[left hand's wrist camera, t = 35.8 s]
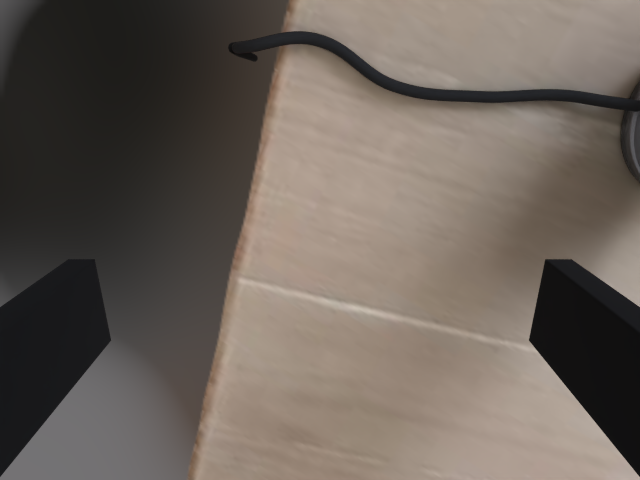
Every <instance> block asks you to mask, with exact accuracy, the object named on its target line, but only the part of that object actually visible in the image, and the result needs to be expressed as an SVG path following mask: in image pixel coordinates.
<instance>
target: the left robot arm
mask: <svg viewBox="0 0 640 480" xmlns="http://www.w3.org/2000/svg"><path fill="white" fill-rule="evenodd" d="M289 44H308V45H314V46H318V47H321V48H324V49H326V50H329V51H331V52H332V53H334V54H336V55H338V56H339V57H341V58H342V59H343V60H345V61H346V62H347V63H349V64H350V65H351V66H352V67H354V68H355V69H356V70H357V71H359V72H360V73H361V74H362V75H364V76H365V77H366V78H368V79H369V80H371V81H372V82H374V83H375V84H377V85H379V86H381V87H383V88H385V89H387V90H390V91H392V92H396V93H399V94H402V95H406V96H410V97H415V98H420V99H427V100H437V101H458V102H482V103H501V102H520V101H542V100H549V101H568V102H576V103H582V104H588V105H593V106H600V107H606V108H613V109H620V110H625V113H624V117H623V122H622V128H621V146H622V152H623V156H624V159H625V162H626V164H627V166H628V168H629V170H630V171H631V173H632V174H633V176H634V177H635V178H636V179H637V180H638V181H639V182H640V81H639V83H638V84H637V86H636V88H635V90H634V91H633V93H632V95H631V97H630V99H626V98H619V97H612V96H605V95H599V94H593V93H587V92H581V91H573V90H558V89H540V90H520V91H500V92H487V91H463V90H442V89H431V88H424V87H418V86H414V85H409V84H406V83H402V82H399V81H396V80H394V79H391V78H389V77H387V76H385V75H383V74H381V73H380V72H378V71H377V70H375V69H374V68H373V67H371V66H370V65H369V64H367V63H366V62H365V61H364V60H363V59H361V58H360V57H359V56H358V55H356V54H355V53H354V52H353V51H351V50H350V49H349V48H347V47H346V46H344V45H343V44H341V43H339V42H337V41H336V40H334V39H332V38H329V37H327V36H324V35H320V34H317V33H312V32H303V31H294V32H285V33H279V34H274V35H269V36H266V37H261V38H257V39H253V40H248V41H241V42H232V43H230V44H229V46H228V49H229V52H231V53H232V54H234V55H236V56H238V57H241V58H244V59H247V60H250V61H253V62H256V61H257V60H258V57H257V55H255V54H253V53H251V52H256V51H261V50H265V49H269V48H273V47H278V46H283V45H289ZM110 341H111V338H110V333H109V328H108V323H107V318H106V313H105V308H104V303H103V298H102V293H101V288H100V283H99V279H98V274H97V269H96V264H95V260H94V259H68V260H67V261H66V262H64V263H63V264H61V265H60V266H58V267H57V268H55V269H54V270H53V271H51V272H50V273H48V274H47V275H45V276H44V277H43V278H41V279H40V280H38V281H37V282H36V283H34V284H33V285H31V286H30V287H28V288H27V289H26V290H24V291H23V292H21V293H20V294H18V295H17V296H16V297H14V298H13V299H11V300H10V301H8V302H7V303H6V304H4V305H3V306H1V307H0V476H1V475H2V474H3V473H4V471H5V470H6V469H7V468H8V467H9V465H10V464H11V463H12V462H13V460H14V459H15V458H16V457H17V456H18V454H19V453H20V452H21V451H22V449H23V448H24V447H25V446H26V444H27V443H28V442H29V441H30V440H31V438H32V437H33V436H34V435H35V433H36V432H37V431H38V430H39V428H40V427H41V426H42V425H43V423H44V422H45V421H46V420H47V418H48V417H49V416H50V415H51V414H52V412H53V411H54V410H55V409H56V407H57V406H58V405H59V404H60V403H61V401H62V400H63V399H64V398H65V396H66V395H67V394H68V393H69V391H70V390H71V389H72V388H73V387H74V385H75V384H76V383H77V382H78V380H79V379H80V378H81V377H82V375H83V374H84V373H85V372H86V370H87V369H88V368H89V367H90V366H91V364H92V363H93V362H94V361H95V359H96V358H97V357H98V356H99V354H100V353H101V352H102V351H103V350H104V348H105V347H106V346H107V345H108V343H109V342H110ZM529 341H530V342H531V343H532V345H533V346H534V347H535V348H536V350H537V351H538V352H539V353H540V354H541V356H542V357H543V358H544V359H545V361H546V362H547V363H548V364H549V366H550V367H551V368H552V369H553V371H554V372H555V373H556V374H557V375H558V377H559V378H560V379H561V380H562V382H563V383H564V384H565V385H566V387H567V388H568V389H569V390H570V391H571V393H572V394H573V395H574V396H575V398H576V399H577V400H578V401H579V403H580V404H581V405H582V406H583V407H584V409H585V410H586V411H587V412H588V414H589V415H590V416H591V417H592V419H593V420H594V421H595V422H596V423H597V425H598V426H599V427H600V428H601V430H602V431H603V432H604V433H605V435H606V436H607V437H608V438H609V440H610V441H611V442H612V443H613V444H614V446H615V447H616V448H617V449H618V451H619V452H620V453H621V454H622V456H623V457H624V458H625V459H626V460H627V462H628V463H629V464H630V465H631V467H632V468H633V469H634V470H635V472H636V473H637V474H638V475H639V476H640V307H639V306H637V305H636V304H634V303H633V302H632V301H630V300H629V299H627V298H626V297H624V296H623V295H622V294H620V293H619V292H617V291H616V290H614V289H613V288H612V287H610V286H609V285H607V284H606V283H605V282H603V281H602V280H600V279H599V278H597V277H596V276H595V275H593V274H592V273H590V272H589V271H587V270H586V269H585V268H583V267H582V266H580V265H579V264H577V263H576V262H575V261H573V260H572V259H545V264H544V269H543V273H542V278H541V283H540V288H539V293H538V298H537V303H536V308H535V313H534V318H533V323H532V328H531V333H530V338H529Z"/></svg>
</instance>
